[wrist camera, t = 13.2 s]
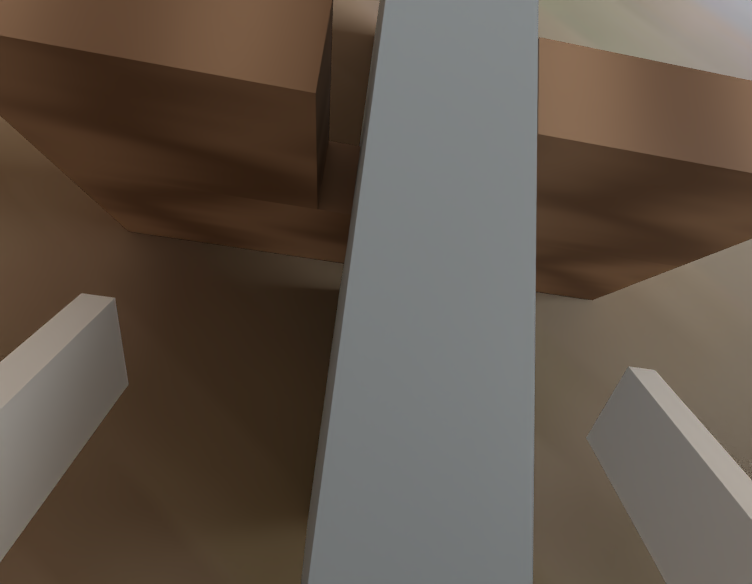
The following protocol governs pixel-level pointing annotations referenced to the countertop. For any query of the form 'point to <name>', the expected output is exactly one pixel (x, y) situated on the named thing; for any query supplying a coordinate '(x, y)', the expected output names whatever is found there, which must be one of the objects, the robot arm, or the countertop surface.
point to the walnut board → (340, 161)
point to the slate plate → (436, 310)
